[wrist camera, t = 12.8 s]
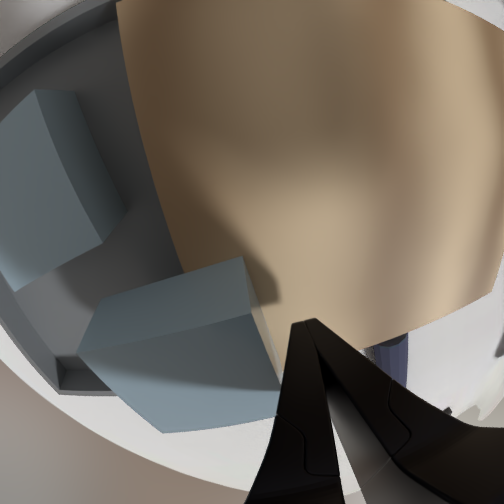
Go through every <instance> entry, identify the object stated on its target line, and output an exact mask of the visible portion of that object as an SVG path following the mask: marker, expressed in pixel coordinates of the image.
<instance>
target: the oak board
mask: <svg viewBox="0 0 504 504" xmlns="http://www.w3.org/2000/svg"><path fill="white" fill-rule="evenodd" d="M116 9H117V16H118V24H119V31H120V37H121V43H122V49H123V55H124V61H125V66H126V71H127V76H128V81H129V86H130V91H131V95H132V100H133V104H134V109H135V113H136V117H137V121H138V125H139V129H140V133H141V137H142V141H143V145H144V149H145V152H146V156H147V160H148V163H149V167H150V170H151V174H152V177H153V181H154V184H155V187H156V191H157V194H158V197H159V201H160V204H161V207H162V210H163V213H164V216H165V219H166V222H167V225H168V228H169V231H170V234H171V237H172V240H173V243H174V246H175V249H176V252H177V255H178V257H179V260H180V263H181V266H182V268H183V271H184V274H185V273H188V272H191V271H194V270H197V269H201V268H204V267H207V266H210V265H214V264H217V263H220V262H223V261H227V260H230V259H233V258H237V257H240V256H243V259H244V262H245V264H246V267H247V270H248V273H249V276H250V278H251V281H252V284H253V287H254V290H255V292H256V295H257V298H258V301H259V304H260V306H261V309H262V312H263V315H264V317H265V320H266V323H267V326H268V328H269V331H270V334H271V337H272V339H273V342H274V345H275V348H276V350H277V353H278V356H279V359H280V362H281V366H282V371H283V372H284V366H285V360H286V354H287V348H288V341H289V335H290V328H291V324H292V323H295V322H299V321H304V320H307V319H311V318H317V319H318V320H319V321H321V322H322V323H323V324H324V325H326V326H327V327H328V328H329V329H331V330H332V331H333V332H335V333H336V334H337V335H338V336H340V337H341V338H342V339H343V340H345V341H346V342H347V343H348V344H350V345H351V346H352V347H354V348H355V349H356V350H357V351H358V350H361V349H364V348H367V347H370V346H373V345H376V344H379V343H381V342H384V341H387V340H389V339H392V338H395V337H397V336H400V335H402V334H405V333H407V332H410V331H412V330H415V329H417V328H419V327H422V326H424V325H426V324H429V323H431V322H433V321H435V320H437V319H440V318H442V317H444V316H446V315H448V314H450V313H452V312H454V311H456V310H458V309H460V308H462V307H464V306H466V305H468V304H470V303H472V302H474V301H476V300H478V299H479V298H481V297H483V296H485V295H487V294H488V293H490V292H491V291H492V288H493V286H494V283H495V280H496V277H497V273H498V270H499V267H500V263H501V260H502V256H503V253H504V31H503V30H501V29H500V28H498V27H496V26H495V25H493V24H491V23H489V22H488V21H486V20H484V19H482V18H480V17H478V16H476V15H474V14H472V13H470V12H468V11H466V10H464V9H462V8H460V7H458V6H456V5H453V4H451V3H449V2H446V1H444V0H122V1H119V2H117V3H116Z"/></svg>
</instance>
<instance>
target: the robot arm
mask: <svg viewBox="0 0 504 504" xmlns="http://www.w3.org/2000/svg"><path fill="white" fill-rule="evenodd" d="M331 420H332V422H333V424H334V427H335V429H336V432H337V434H338V436H339V439H340V441H341V443H342V446H343V448H344V450H345V453H346V455H347V458H348V460H349V462H350V465H351V467H352V470H353V472H354V474H355V477H356V479H357V482H358V484H359V486H360V488H361V491H362V494H363V496H364V499H365V501H366V503H367V504H504V428H494V427H478V426H473V425H469V424H466V423H464V422H462V421H460V420H458V419H456V418H454V417H453V416H451V415H449V414H447V413H445V412H444V411H442V410H440V409H438V408H436V407H435V406H433V405H431V404H429V403H428V402H426V401H424V400H423V399H421V398H420V397H418V396H416V395H415V394H413V393H412V392H411V391H409V390H408V389H407V388H405V387H404V386H402V385H401V384H400V383H399V382H397V381H396V380H395V379H393V380H392V377H391V376H389V375H388V374H387V373H386V372H384V371H383V370H382V369H380V368H379V367H378V366H377V365H375V364H374V363H373V362H371V361H370V360H369V359H368V358H366V357H365V356H364V355H362V354H361V353H360V352H359V351H357V350H356V349H355V348H354V347H352V346H351V345H350V344H348V343H347V342H346V341H345V340H343V339H342V338H341V337H340V336H338V335H337V334H336V333H335V332H333V331H332V330H331V329H329V328H328V327H327V326H326V325H324V324H323V323H322V322H321V321H319V320H318V319H317V318H311V319H307V320H304V321H299V322H295V323H292V324H291V328H290V335H289V341H288V348H287V354H286V360H285V366H284V372H283V378H282V383H281V389H280V394H279V400H278V405H277V410H276V416H275V420H274V424H273V429H272V433H271V437H270V441H269V444H268V447H267V450H266V453H265V456H264V459H263V461H262V464H261V466H260V469H259V471H258V473H257V476H256V478H255V480H254V483H253V485H252V487H251V490H250V492H249V494H248V496H247V498H246V500H245V502H244V504H345V500H344V496H343V491H342V485H341V479H340V477H339V476H340V472H339V465H338V458H337V452H336V446H335V440H334V434H333V428H332V422H331Z"/></svg>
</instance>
